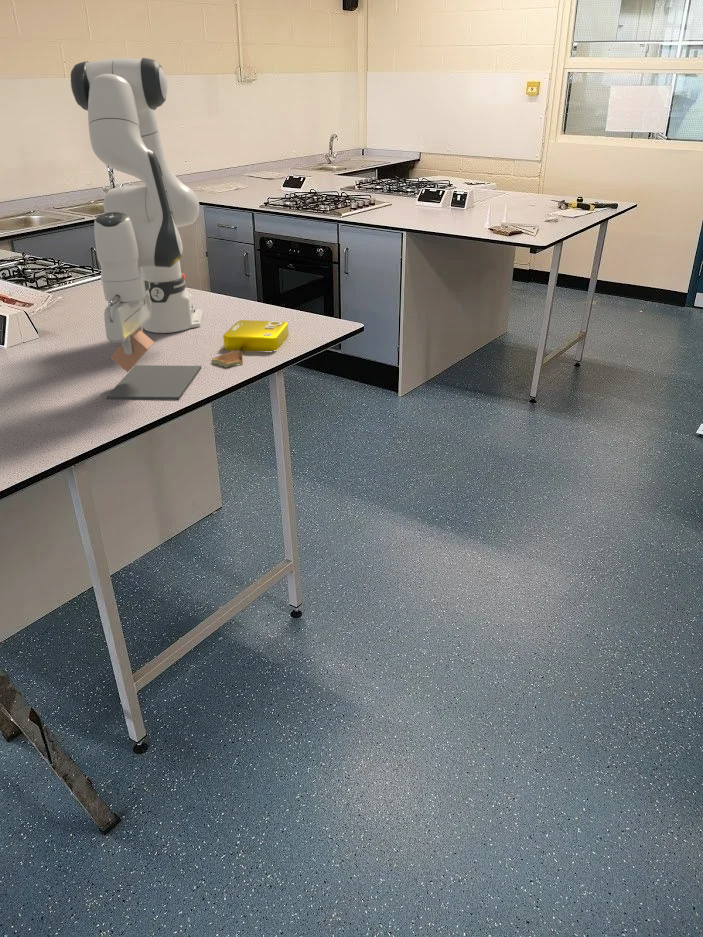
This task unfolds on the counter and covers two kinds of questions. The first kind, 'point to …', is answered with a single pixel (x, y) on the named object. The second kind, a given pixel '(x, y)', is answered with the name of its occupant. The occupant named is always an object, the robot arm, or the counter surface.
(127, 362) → the terracotta block
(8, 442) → the counter surface
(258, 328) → the element tile
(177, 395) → the charcoal mat
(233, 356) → the shard
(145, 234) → the robot arm
